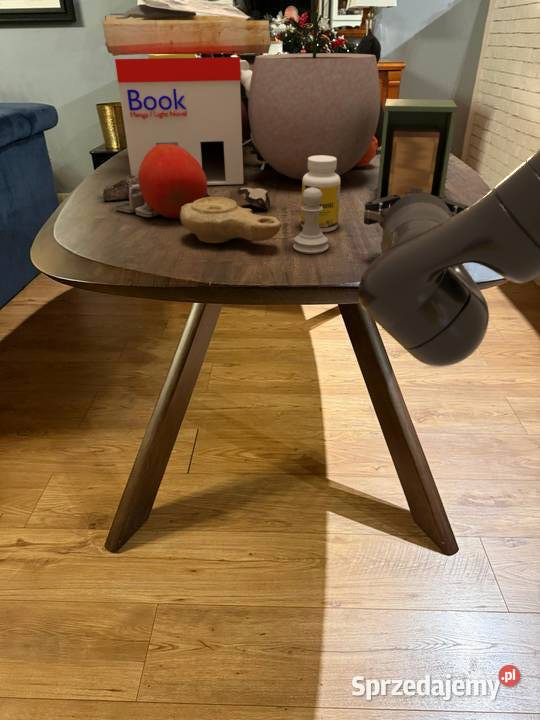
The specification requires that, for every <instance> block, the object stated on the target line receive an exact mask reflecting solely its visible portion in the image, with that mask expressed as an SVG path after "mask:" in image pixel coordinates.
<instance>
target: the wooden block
mask: <svg viewBox="0 0 540 720" xmlns="http://www.w3.org/2000/svg"><path fill="white" fill-rule="evenodd" d="M247 16H248V17H249V18H251V16H249V15H247ZM116 17H123V15H105V16H104V20H103V19H102V25H103V26H102V27H103V29H102V30H103V37H104V39H105V44H104V46H105V47H106V51H107V53H108V54H111V55H112V56H113V57H117V56H134V55H135V56H136V55H152V54H195V55H201V54H213V55H233V54H234V55H237V54H260V55H264V54H269V52H270V48H271V46H272V45H271V44H272V40H271V33H270V29H271V28H270V21H269V20H248V19H249V18H248V19H244V18H236V17H228V16H220V15H196V16H185V17H161V18H133V17H129V18H127V19H117V18H116Z"/></svg>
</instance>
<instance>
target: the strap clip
mask: <svg viewBox="0 0 540 720" xmlns="http://www.w3.org/2000/svg"><path fill="white" fill-rule="evenodd" d="M139 187H140V185H139V184H136V185H132V186H131V187H130V188H129V199H128V202H125V203H122V204H118V205H116V206H115V209H116V210H118V211H119V212H124V213H128V214H131V213H134V212H135V215H137V216H140V217H145V218H152V217H156V216H159V215H161V214H160V213H158V212H157V211H155V210H154V209H152V208H151V207H149V206H148V205H147V204H146V203H145V201H144V198H143V195H142V192H138V193H134V194H132V190H133V189H135V188H139Z"/></svg>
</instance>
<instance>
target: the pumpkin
mask: <svg viewBox="0 0 540 720" xmlns="http://www.w3.org/2000/svg"><path fill="white" fill-rule="evenodd" d="M377 143H378V142H377V139H376V138H375V136H374V137H373V140H372V142H371V144H370V146H369V148H368V150H367V151H366V153H365V154H364V156H363V157H362V158H361V159H360V161H359V162H358V163H357V164H356V165H355V166H354V167H357V168H361V167H363V166H365V165H369V164H370V163H371V161H372V160H373V159H374V158H375V157H376V156H377V150H378V149H377V145H378V144H377ZM376 149H377V150H376Z"/></svg>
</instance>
